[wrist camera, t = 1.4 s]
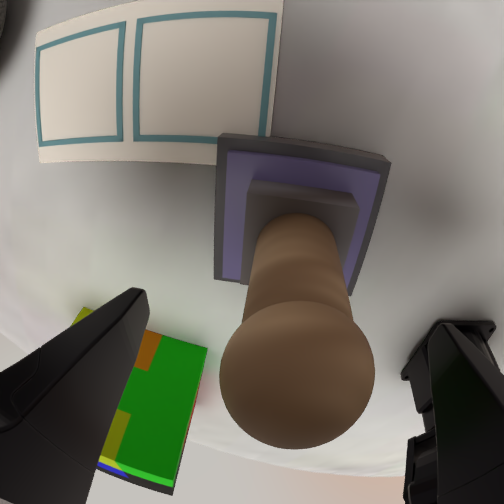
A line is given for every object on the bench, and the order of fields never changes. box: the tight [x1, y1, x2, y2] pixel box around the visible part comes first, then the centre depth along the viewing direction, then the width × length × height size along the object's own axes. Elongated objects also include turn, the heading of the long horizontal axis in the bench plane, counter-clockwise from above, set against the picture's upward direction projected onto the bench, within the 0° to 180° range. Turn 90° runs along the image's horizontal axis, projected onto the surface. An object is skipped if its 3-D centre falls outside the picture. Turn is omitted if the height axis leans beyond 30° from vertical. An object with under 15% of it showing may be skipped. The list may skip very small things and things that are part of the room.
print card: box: [34, 0, 284, 165], centre depth 10 cm, size 13×8×1 cm, turn 86°
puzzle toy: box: [70, 307, 208, 496], centre depth 18 cm, size 10×10×10 cm
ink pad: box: [214, 133, 391, 296], centre depth 13 cm, size 7×7×2 cm
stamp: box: [219, 179, 375, 449], centre depth 9 cm, size 4×4×9 cm
